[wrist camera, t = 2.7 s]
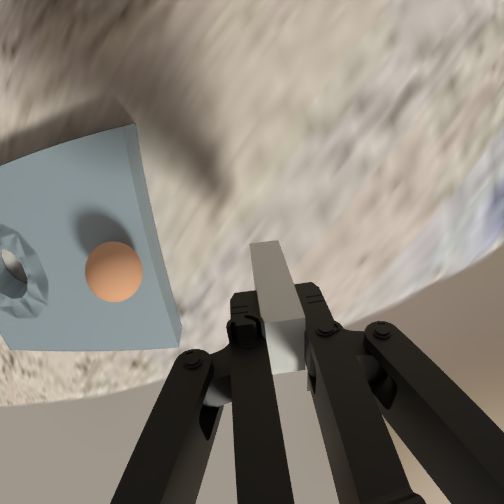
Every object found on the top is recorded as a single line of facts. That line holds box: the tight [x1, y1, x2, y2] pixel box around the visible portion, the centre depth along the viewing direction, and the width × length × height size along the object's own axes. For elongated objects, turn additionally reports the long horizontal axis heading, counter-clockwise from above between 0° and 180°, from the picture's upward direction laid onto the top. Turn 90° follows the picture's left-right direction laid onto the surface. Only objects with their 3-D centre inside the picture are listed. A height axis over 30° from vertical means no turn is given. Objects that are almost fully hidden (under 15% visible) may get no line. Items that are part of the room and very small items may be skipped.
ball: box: [85, 241, 143, 302], centre depth 17 cm, size 4×4×4 cm
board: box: [0, 123, 182, 351], centre depth 20 cm, size 16×18×2 cm
